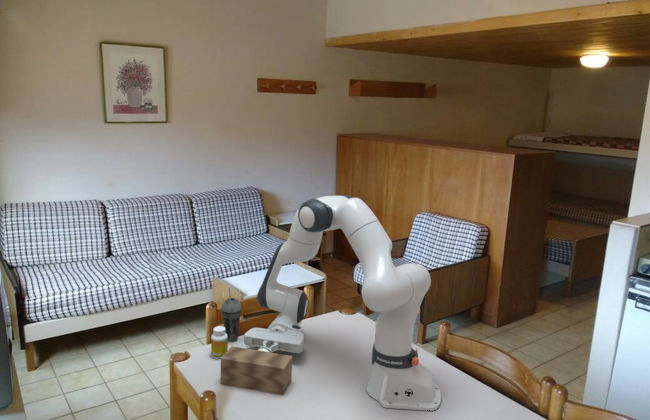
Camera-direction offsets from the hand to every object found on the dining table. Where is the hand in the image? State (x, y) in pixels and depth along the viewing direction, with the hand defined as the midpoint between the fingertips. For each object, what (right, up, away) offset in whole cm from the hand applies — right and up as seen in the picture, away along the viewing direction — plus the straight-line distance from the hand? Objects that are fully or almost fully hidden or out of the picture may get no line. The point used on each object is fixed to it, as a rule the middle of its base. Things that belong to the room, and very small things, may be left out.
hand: (266, 351), depth 160 cm
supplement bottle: (-17, -4, +8) cm, 19 cm away
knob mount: (-2, -8, -7) cm, 11 cm away
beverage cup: (-15, -2, +20) cm, 25 cm away
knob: (-1, -4, -5) cm, 7 cm away
